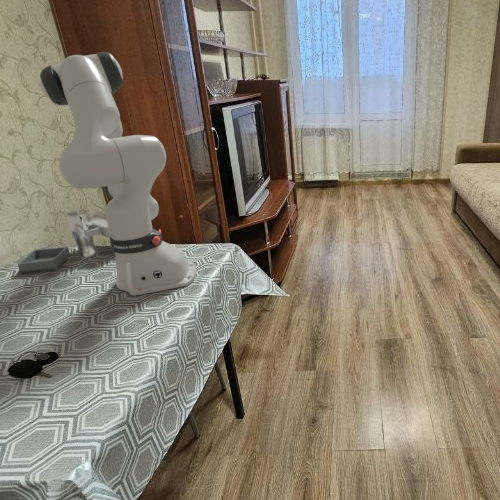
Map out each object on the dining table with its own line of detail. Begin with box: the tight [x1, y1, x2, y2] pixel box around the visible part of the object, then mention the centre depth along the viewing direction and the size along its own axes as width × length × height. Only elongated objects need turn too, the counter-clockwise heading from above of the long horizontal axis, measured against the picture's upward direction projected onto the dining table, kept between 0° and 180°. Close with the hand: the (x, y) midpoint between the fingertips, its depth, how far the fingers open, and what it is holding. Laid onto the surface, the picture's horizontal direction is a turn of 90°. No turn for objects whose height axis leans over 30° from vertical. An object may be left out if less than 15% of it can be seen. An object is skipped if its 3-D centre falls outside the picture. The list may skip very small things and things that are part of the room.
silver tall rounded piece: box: [66, 209, 99, 259], centre depth 125 cm, size 7×7×15 cm
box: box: [17, 246, 71, 275], centre depth 123 cm, size 11×11×4 cm
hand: (79, 232), depth 124 cm, fingers closed on silver tall rounded piece, 6 cm apart
